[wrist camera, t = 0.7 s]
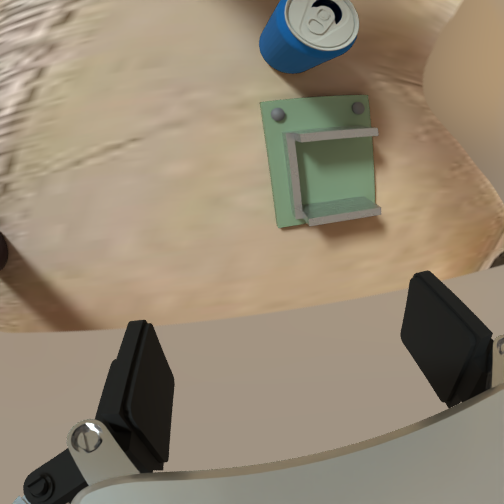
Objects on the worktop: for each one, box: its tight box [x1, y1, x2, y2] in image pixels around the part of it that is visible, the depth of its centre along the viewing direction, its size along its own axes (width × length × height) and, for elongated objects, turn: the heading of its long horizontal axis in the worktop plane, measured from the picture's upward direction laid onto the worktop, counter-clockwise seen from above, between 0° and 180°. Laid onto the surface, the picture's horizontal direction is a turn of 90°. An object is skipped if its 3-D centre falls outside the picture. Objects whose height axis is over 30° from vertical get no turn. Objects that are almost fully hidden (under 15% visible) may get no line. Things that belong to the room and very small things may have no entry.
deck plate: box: [260, 95, 375, 228], centre depth 33 cm, size 14×12×1 cm
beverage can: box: [259, 0, 359, 74], centre depth 22 cm, size 6×6×12 cm
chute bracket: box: [282, 125, 381, 226], centre depth 31 cm, size 9×9×4 cm
